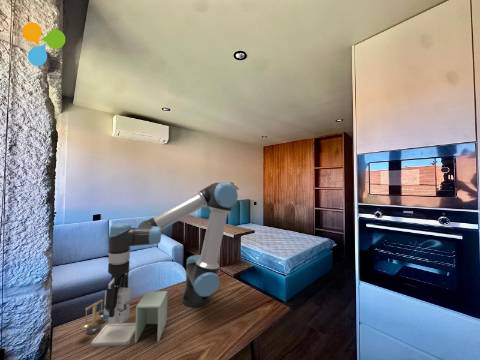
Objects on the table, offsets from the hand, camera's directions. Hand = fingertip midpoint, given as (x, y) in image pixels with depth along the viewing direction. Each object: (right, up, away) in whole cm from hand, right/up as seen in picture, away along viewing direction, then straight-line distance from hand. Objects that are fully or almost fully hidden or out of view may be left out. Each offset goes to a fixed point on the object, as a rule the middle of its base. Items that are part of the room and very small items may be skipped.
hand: (116, 318), depth 83 cm
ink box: (0, -1, 0) cm, 1 cm away
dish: (0, -7, 0) cm, 7 cm away
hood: (+13, -8, +3) cm, 16 cm away
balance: (-11, -7, +3) cm, 14 cm away
